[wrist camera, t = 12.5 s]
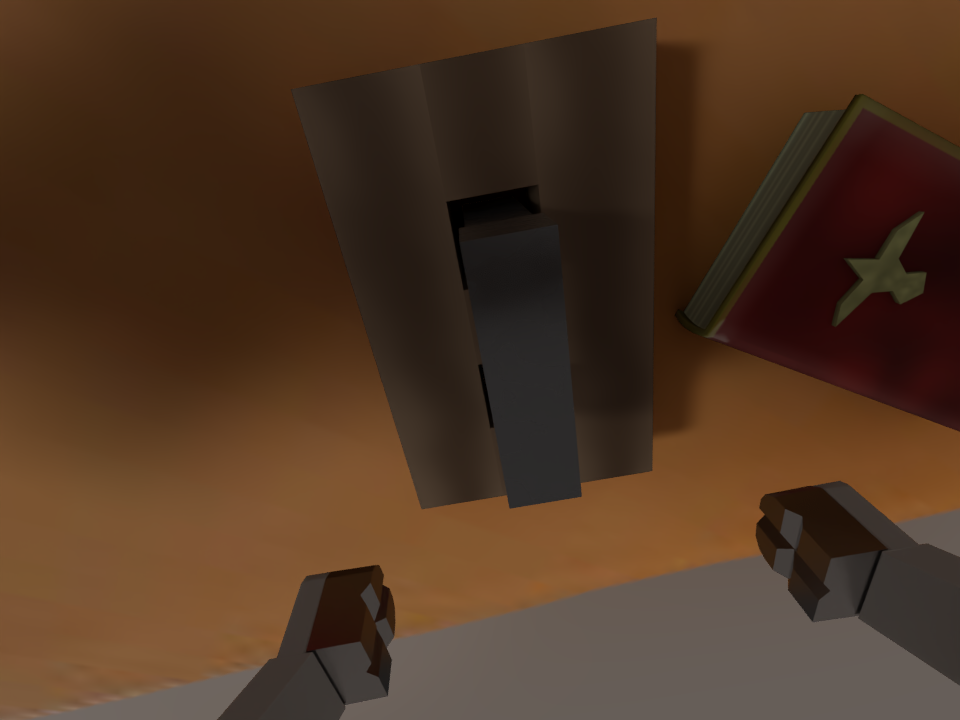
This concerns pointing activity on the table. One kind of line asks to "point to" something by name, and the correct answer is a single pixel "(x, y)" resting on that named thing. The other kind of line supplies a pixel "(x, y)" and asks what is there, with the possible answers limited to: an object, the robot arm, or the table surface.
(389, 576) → the table surface
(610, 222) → the wooden board with holes
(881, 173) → the hardcover book
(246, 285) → the table surface
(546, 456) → the grey u-shaped block
